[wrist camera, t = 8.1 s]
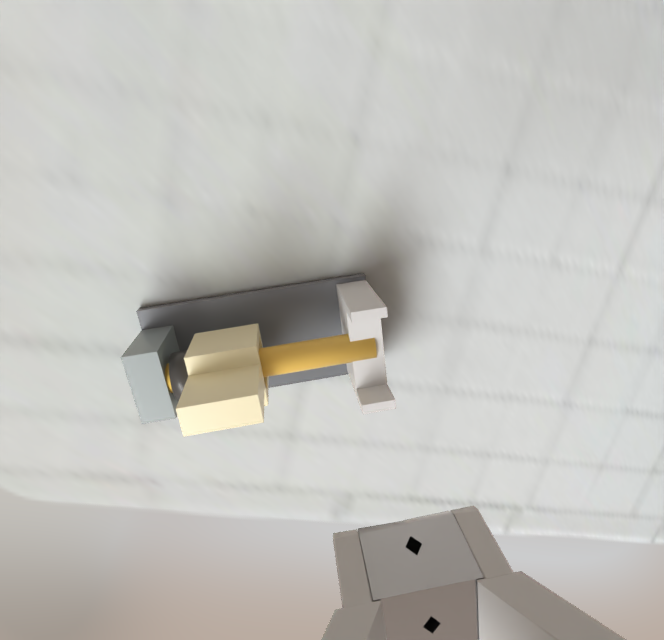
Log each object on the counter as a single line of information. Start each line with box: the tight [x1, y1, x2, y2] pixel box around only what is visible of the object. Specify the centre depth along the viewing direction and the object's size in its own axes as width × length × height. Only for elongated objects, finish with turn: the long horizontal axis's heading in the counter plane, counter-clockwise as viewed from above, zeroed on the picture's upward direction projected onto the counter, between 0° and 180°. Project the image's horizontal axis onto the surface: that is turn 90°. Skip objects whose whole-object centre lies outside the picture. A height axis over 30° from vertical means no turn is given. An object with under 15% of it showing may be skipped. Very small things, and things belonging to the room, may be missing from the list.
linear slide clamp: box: [121, 273, 396, 424], centre depth 28 cm, size 15×7×7 cm, turn 97°
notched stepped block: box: [176, 323, 269, 437], centre depth 26 cm, size 4×4×7 cm
